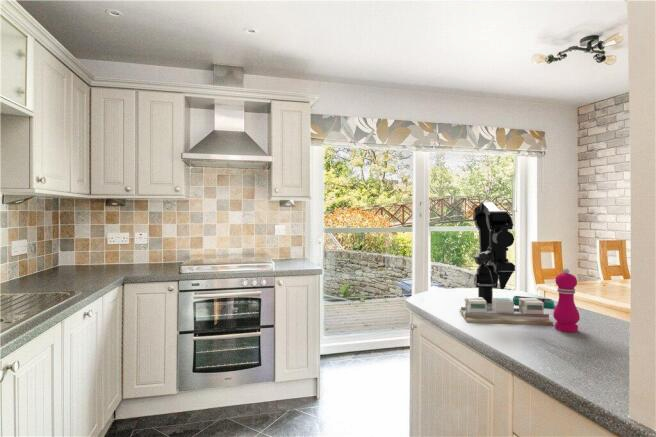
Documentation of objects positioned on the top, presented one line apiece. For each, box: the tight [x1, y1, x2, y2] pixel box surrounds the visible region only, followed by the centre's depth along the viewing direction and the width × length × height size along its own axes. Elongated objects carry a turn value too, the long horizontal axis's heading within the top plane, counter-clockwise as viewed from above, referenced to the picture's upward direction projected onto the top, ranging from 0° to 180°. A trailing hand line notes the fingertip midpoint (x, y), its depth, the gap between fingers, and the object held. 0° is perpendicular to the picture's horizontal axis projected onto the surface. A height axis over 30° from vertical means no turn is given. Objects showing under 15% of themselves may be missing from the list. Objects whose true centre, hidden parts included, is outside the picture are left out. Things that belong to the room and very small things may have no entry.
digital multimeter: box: [512, 295, 555, 309], centre depth 154 cm, size 7×15×3 cm, turn 60°
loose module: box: [491, 297, 515, 313], centre depth 135 cm, size 5×6×5 cm
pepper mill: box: [553, 268, 581, 333], centre depth 121 cm, size 7×7×20 cm
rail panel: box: [459, 296, 554, 325], centre depth 135 cm, size 14×28×7 cm, turn 81°
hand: (498, 286), depth 138 cm, fingers open, 9 cm apart
